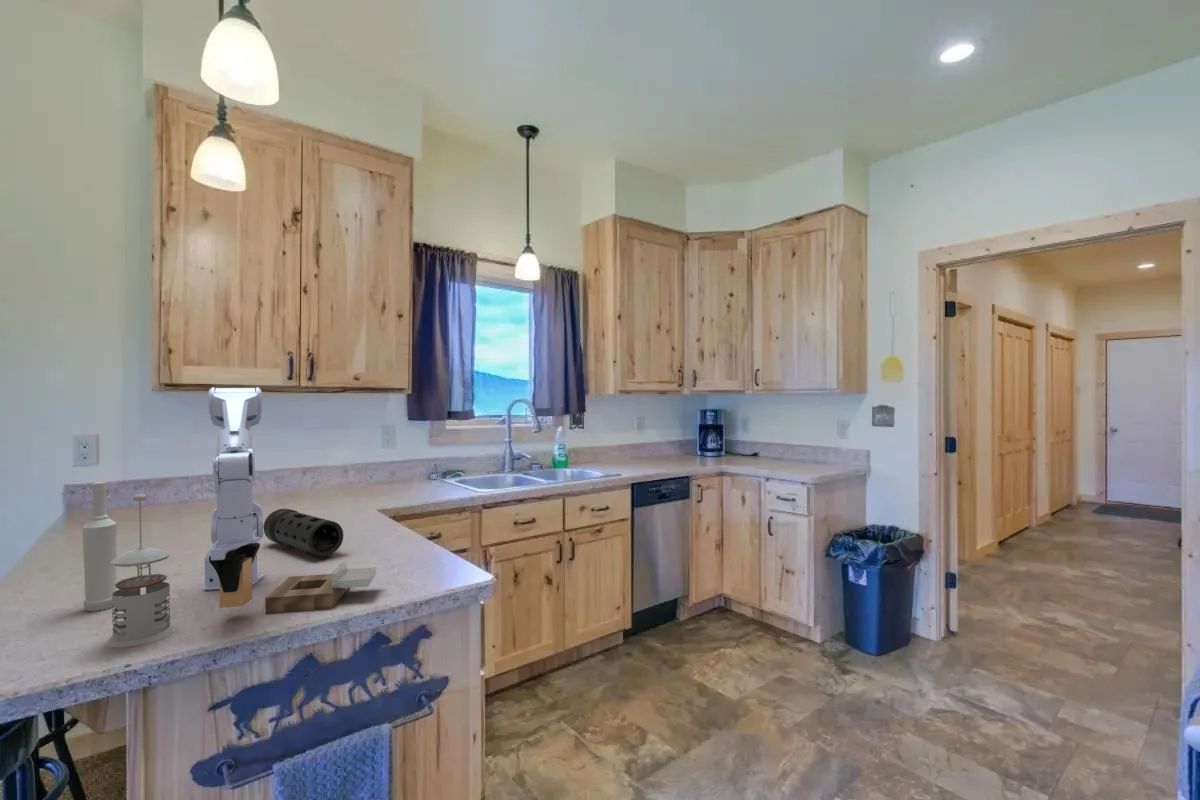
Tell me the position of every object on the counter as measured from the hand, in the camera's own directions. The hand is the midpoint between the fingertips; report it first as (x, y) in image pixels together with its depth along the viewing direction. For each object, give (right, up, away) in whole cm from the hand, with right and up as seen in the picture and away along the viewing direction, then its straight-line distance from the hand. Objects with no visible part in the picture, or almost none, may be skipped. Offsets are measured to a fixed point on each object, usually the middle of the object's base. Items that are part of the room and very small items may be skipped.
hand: (235, 587), depth 106 cm
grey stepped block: (+17, -3, +11) cm, 21 cm away
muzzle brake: (-12, -6, +46) cm, 48 cm away
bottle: (-31, -6, +6) cm, 32 cm away
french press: (-12, -6, -6) cm, 15 cm away
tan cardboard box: (0, -3, 0) cm, 3 cm away
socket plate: (+9, -6, +10) cm, 14 cm away
